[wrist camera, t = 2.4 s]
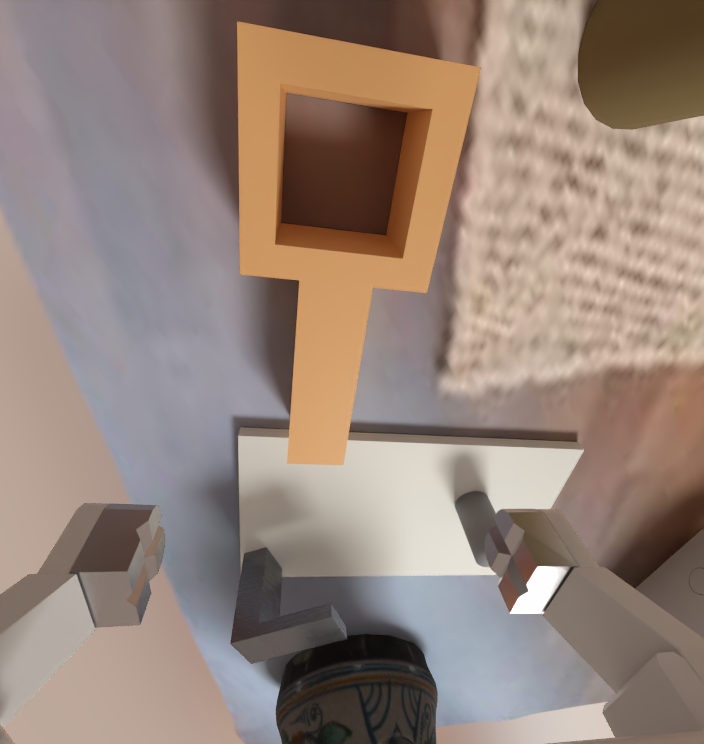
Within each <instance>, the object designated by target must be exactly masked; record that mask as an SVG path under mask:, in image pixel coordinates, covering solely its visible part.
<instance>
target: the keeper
mask: <svg viewBox="0 0 704 744" xmlns="http://www.w3.org/2000/svg"><path fill="white" fill-rule="evenodd" d="M281 582H282V568H281V566H280V565H279V563H278V562H277V561H276V559H275V558H274V557H273V555H272V554H271V552H270V551H269V550H268V548H267V547H265V548H261V549H258V550H254V551H251V552H247V553H244V557H243V564H242V570H241V577H240V583H239V590H238V597H237V603H236V610H235V616H234V623H233V629H232V636H231V643H230V644H231V645H232V646H233V647H234V648H235V649H236V650H238V651H239V652H240V653H241V654H242V655H243V656H244V657H245V658H246V659H247V660H248V661H249V662H250V663H251V664H252V663H256V662H260V661H264V660H268V659H271V658H275V657H279V656H283V655H287V654H291V653H295V652H299V651H302V650H306V649H310V648H314V647H318V646H322V645H326V644H330V643H333V642H337V641H341V640H345V639H347V633H346V625H345V624H344V622H343V621H342V619H341V618H340V616H339V614H338V613H337V611H336V610H335V608H334V607H333V605H332V604H327V605H323V606H320V607H316V608H312V609H308V610H304V611H301V612H297V613H293V614H289V615H286V616H282V617H279V615H280V599H281Z"/></svg>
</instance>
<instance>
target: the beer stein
mask: <svg viewBox="0 0 704 744" xmlns="http://www.w3.org/2000/svg"><path fill="white" fill-rule="evenodd" d="M436 707H437V688H436V683H435V681H434V679H433V677H432V675H431V673H430V671H429V669H428V667H427V664H426V660H425V657H424V654H423V653H422V652H421V651H420V650H419V649H418V647H417V646H416V645H415V644H414V643H411V642H408V641H405V640H401V639H398V638H395V637H392V636H384V635H367V634H365V635H357V636H349V637H347V639H345V640H341V641H337V642H333V643H330V644H326V645H322V646H318V647H314V648H310V649H306V650H304V651H302V652H301V653H299V654H297V655H296V656H294V657H293V658H292V659H291V660H290V662H289V663H288V664H287V666H286V668H285V671H284V674H283V678H282V682H281V687H280V691H279V695H278V699H277V706H276V722H277V726H278V730H279V733H280V736H281V740H282V744H436V727H435V725H436Z"/></svg>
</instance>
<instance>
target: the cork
mask: <svg viewBox="0 0 704 744" xmlns="http://www.w3.org/2000/svg"><path fill="white" fill-rule="evenodd" d="M578 82H579V86H580V90H581V93H582V97H583V101H584V104H585V105H586V107H587V108H588V109H589V111H590V112H591V113H592V115H593V116H594V117H595V119H596V120H598V121H599V122H601V123H603V124H605V125H607V126H609V127H611V128H613V129H637V128H642V127H647V126H652V125H657V124H662V123H667V122H672V121H677V120H682V119H687V118H693V117H698V116H703V115H704V0H598V1H597V3H596V5H595V7H594V9H593V11H592V13H591V15H590V17H589V19H588V21H587V24H586V28H585V31H584V35H583V39H582V43H581V47H580V50H579V64H578Z"/></svg>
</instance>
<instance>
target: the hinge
mask: <svg viewBox="0 0 704 744" xmlns="http://www.w3.org/2000/svg"><path fill="white" fill-rule="evenodd" d="M635 589H636V590H637V591H639V592H640V593H641V594H643V595H644V596H646V597H647V598H648V599H650V600H651V601H652V602H654V603H655V604H657V605H658V606H659V607H661V608H662V609H663V610H665V611H666V612H668V613H669V614H670V615H672V616H673V617H674V618H676V619H677V620H679V621H680V622H681V623H683V624H684V625H686V626H687V627H688V628H690V629H691V630H692V631H694V632H695V633H697V634H698V635H699V636H701V637H702V638H703V639H704V529H702V530H701V531H700V532H698V533H697V534H696V535H695V536H694V537H693V538H692V539H691V540H689V541H688V542H687V543H686V544H685V545H684V546H683V547H681V548H680V549H679V550H678V551H677V552H676V553H675V554H674V555H672V556H671V557H670V558H669V559H668V560H667V561H666V562H664V563H663V564H662V565H661V566H660V567H659V568H658V569H657V570H655V571H654V572H653V573H652V574H651V575H650V576H649V577H647V578H646V579H645V580H644V581H643V582H642V583H641V584H639V585H638V586H637V587H636V588H635Z"/></svg>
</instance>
